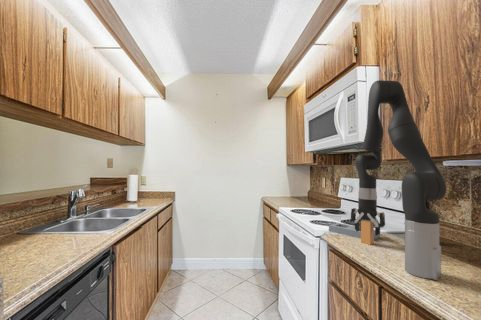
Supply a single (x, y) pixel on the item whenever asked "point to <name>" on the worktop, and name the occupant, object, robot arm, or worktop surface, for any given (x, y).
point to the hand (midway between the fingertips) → (367, 233)
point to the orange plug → (367, 232)
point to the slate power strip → (348, 230)
